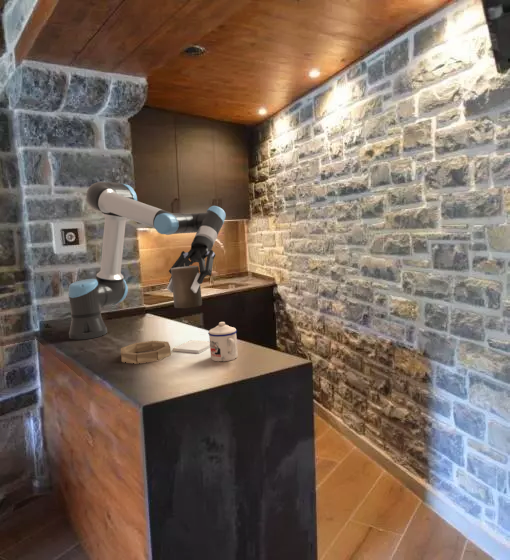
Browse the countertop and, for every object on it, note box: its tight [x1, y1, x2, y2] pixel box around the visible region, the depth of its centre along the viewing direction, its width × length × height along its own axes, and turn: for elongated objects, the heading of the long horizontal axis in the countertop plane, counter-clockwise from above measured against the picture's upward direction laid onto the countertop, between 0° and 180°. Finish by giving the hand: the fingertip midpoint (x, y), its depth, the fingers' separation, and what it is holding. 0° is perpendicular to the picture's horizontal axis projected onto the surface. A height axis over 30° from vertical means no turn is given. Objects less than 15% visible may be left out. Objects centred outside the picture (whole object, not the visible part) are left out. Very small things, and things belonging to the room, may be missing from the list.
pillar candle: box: [169, 263, 203, 309], centre depth 150 cm, size 10×10×15 cm
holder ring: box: [120, 340, 172, 365], centre depth 147 cm, size 16×16×3 cm
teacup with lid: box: [208, 321, 239, 362], centre depth 138 cm, size 12×9×12 cm
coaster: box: [172, 339, 210, 354], centre depth 154 cm, size 11×11×1 cm
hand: (181, 290), depth 148 cm, fingers closed on pillar candle, 9 cm apart
